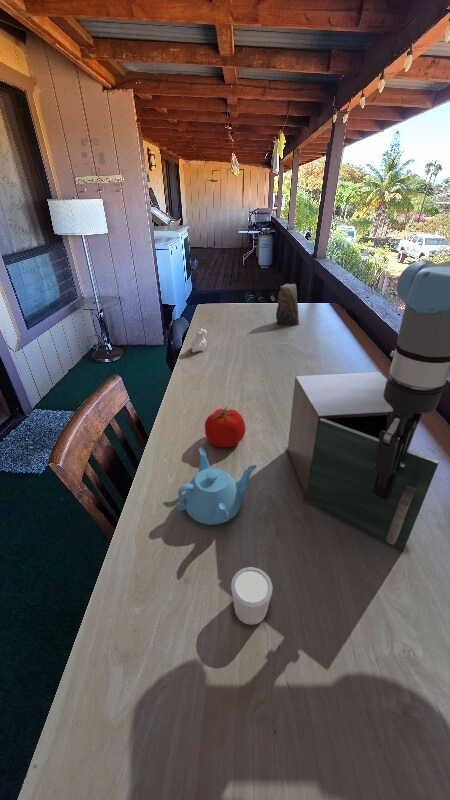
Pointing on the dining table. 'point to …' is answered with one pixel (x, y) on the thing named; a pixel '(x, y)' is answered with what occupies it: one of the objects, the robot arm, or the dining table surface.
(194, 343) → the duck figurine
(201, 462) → the teapot
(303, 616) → the dining table surface
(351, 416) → the cupboard
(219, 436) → the tomato
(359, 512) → the cupboard door
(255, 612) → the glass of milk
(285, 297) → the brown rock
